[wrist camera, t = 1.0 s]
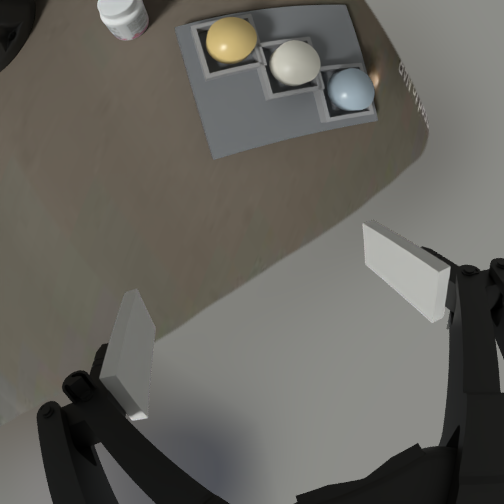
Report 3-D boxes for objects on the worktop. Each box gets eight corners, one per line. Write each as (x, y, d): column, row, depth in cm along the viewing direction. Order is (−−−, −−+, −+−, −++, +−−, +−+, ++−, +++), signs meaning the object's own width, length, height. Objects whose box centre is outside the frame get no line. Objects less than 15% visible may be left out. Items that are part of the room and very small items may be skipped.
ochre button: (200, 30, 25) (201, 22, 23) (245, 20, 26) (249, 13, 23) (212, 68, 27) (214, 63, 25) (257, 58, 28) (262, 53, 25)
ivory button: (263, 49, 27) (269, 43, 25) (305, 43, 28) (313, 38, 25) (275, 89, 29) (282, 86, 27) (316, 82, 30) (325, 79, 28)
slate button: (322, 73, 29) (331, 70, 27) (358, 69, 30) (368, 66, 28) (332, 113, 31) (342, 112, 29) (367, 107, 32) (378, 107, 30)
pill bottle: (148, 5, 26) (139, -23, 18) (150, 36, 28) (140, 11, 20) (111, 14, 25) (94, -11, 18) (113, 45, 27) (93, 24, 19)
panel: (175, 33, 28) (173, 22, 24) (337, 10, 30) (352, 0, 26) (212, 158, 35) (214, 161, 31) (368, 120, 37) (385, 120, 33)
